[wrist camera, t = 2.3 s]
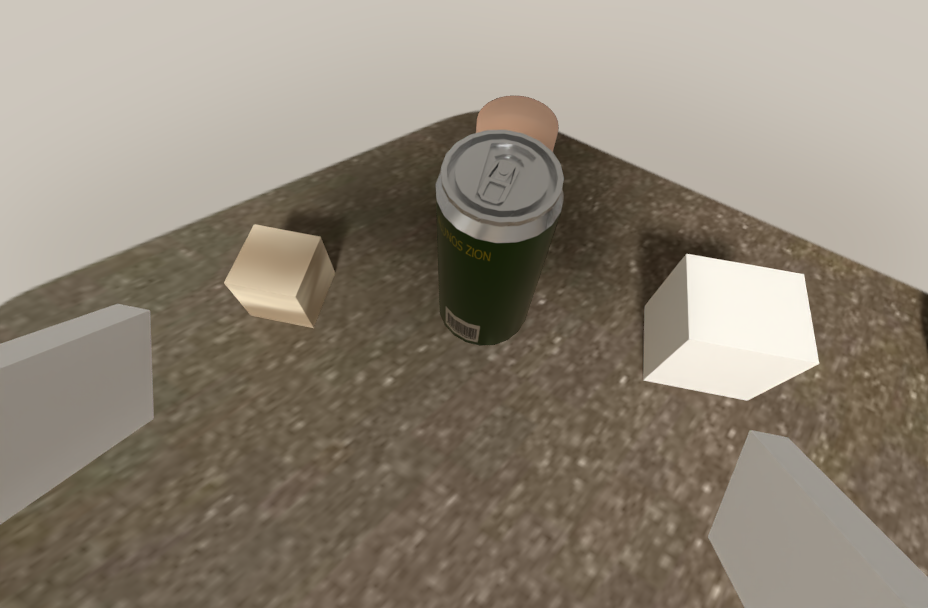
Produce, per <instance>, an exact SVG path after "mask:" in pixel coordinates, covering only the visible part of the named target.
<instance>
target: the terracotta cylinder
mask: <svg viewBox="0 0 928 608" xmlns="http://www.w3.org/2000/svg"><path fill="white" fill-rule="evenodd" d="M486 130H509V131H514V132H519V133H523V134H526V135H528V136H530V137H532V138H534V139H537V140H539V141H540V142H541V143H543V144H544V145H545V146H546V147H548V148H549V149H550V150H551V151H552V152H553V149H554V145H555V141H556V138H557V134H558V121H557V118H556V116H555V114H554V113H553V112H552V110H551V109H549V108H548V107H547V106H546V105H545V104H543V103H541V102H539V101H537V100H535V99H532V98H529V97H524V96H504V97H500V98H497V99H494V100H492V101H490V102H489V103H487V104H486V105H485V106H484V107H483V108H482V109H481V110H480V112H479V114H478V117H477V128H476V133H478V132H482V131H486Z"/></svg>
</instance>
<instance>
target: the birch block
mask: <svg viewBox="0 0 928 608" xmlns="http://www.w3.org/2000/svg"><path fill="white" fill-rule="evenodd" d="M334 275H335V271H334V269H333V266H332V264H331V261H330V259H329V256H328V254H327V251H326V249H325V246H324V244H323V241H322V239H321V237H319V236H313V235H308V234H303V233H297V232H292V231H287V230H281V229H276V228H271V227H265V226H260V225H255V224H254V226H253V228H252V230H251V231H250V233H249V235H248V237H247V239H246V241H245V243H244V245H243V247H242V249H241V251H240V253H239V255H238V257H237V259H236V261H235V263H234V265H233V267H232V268H231V270H230V272H229V274H228V276H227V278H226V280H225V282H224V283H225V285H226V286H227V287H228V288H229V289H230V291H231V292H232V293H233V294H234V296H235V297H236V298H237V299H238V300H239V302H240V303H241V304H242V305H243V306H244V308H245V309H246V310H247V311H248V313H249V314H250V315H251V316H256V317H261V318H266V319H271V320H276V321H281V322H286V323H291V324H296V325H301V326H306V327H311V328H314V326H315V324H316V321H317V318H318V316H319V313H320V311H321V308H322V306H323V303H324V300H325V298H326V295H327V293H328V290H329V288H330V285H331V282H332V280H333V277H334Z"/></svg>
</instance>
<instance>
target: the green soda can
mask: <svg viewBox="0 0 928 608" xmlns="http://www.w3.org/2000/svg"><path fill="white" fill-rule="evenodd" d="M563 180H564V177H563V172H562V168H561V164H560V162H559V161H558V159H557V158H556V156H555V155H554V153H553V152H552V151H551V150H550V149H549V148H548V147H546V146H545V145H544V144H543V143H541V142H540V141H539V140H537V139H534V138H532V137H530V136H528V135H526V134H523V133H519V132H514V131H509V130H486V131H482V132H478V133H474V134H471V135H469V136H467V137H465V138H464V139H462V140H460V141H458V142H457V143H455V145H454V146H453V147H452V148H451V149H450V150H449V151H448V152H447V154H446V155H445V158H444V161H443V164H442V166H441V172H440V174H439V177H438V180H437V183H436V210H437V243H438V275H439V304H440V314H441V317H442V319H443V321H444V324H445V326H446V327H447V328H448V329H449V330H450V331H451V332H452V333H453V334H454V335H455V336H457V337H458V338H460V339H462V340H463V341H465V342H467V343H471V344H476V345H495V344H498V343H500V342H503V341H506V340H508V339H509V338H511V337H512V336H513V335H514V334H516V333H517V332H518V331H519V329H520V328H521V326H522V324H523V323H524V321H525V319H526V316H527V313H528V310H529V307H530V304H531V301H532V298H533V295H534V292H535V289H536V286H537V283H538V280H539V277H540V274H541V271H542V268H543V265H544V262H545V259H546V256H547V253H548V250H549V247H550V244H551V241H552V238H553V235H554V232H555V229H556V226H557V223H558V220H559V217H560V214H561V210H562V205H563V199H564V193H563V189H562V186H563Z"/></svg>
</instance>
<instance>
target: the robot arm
mask: <svg viewBox="0 0 928 608" xmlns="http://www.w3.org/2000/svg"><path fill="white" fill-rule="evenodd" d="M152 419H154V413H153V383H152V353H151V323H150V310H146V309H141V308H136V307H131V306H126V305H121V304H116V305H113V306H110V307H107V308H104V309H101V310H98V311H95V312H92V313H89V314H86V315H84V316H81V317H78V318H75V319H72V320H69V321H66V322H63V323H60V324H57V325H54V326H51V327H48V328H45V329H43V330H40V331H37V332H34V333H31V334H28V335H25V336H22V337H19V338H16V339H13V340H10V341H7V342H4V343H2V344H0V524H2V523H3V522H5V521H6V520H7V519H9V518H10V517H12V516H13V515H15V514H16V513H18V512H19V511H20V510H22V509H23V508H25V507H26V506H28V505H29V504H31V503H32V502H34V501H35V500H36V499H38V498H39V497H41V496H42V495H44V494H45V493H47V492H48V491H49V490H51V489H52V488H54V487H55V486H57V485H58V484H60V483H61V482H62V481H64V480H65V479H67V478H68V477H70V476H71V475H73V474H74V473H76V472H77V471H78V470H80V469H81V468H83V467H84V466H86V465H87V464H89V463H90V462H91V461H93V460H94V459H96V458H97V457H99V456H100V455H102V454H103V453H104V452H106V451H107V450H109V449H110V448H112V447H113V446H115V445H116V444H118V443H119V442H120V441H122V440H123V439H125V438H126V437H128V436H129V435H131V434H132V433H133V432H135V431H136V430H138V429H139V428H141V427H142V426H144V425H145V424H146V423H148V422H149V421H151V420H152ZM708 538H709V540H710V542H711V544H712V545H713V547H714V549H715V551H716V553H717V555H718V557H719V559H720V561H721V563H722V565H723V567H724V569H725V571H726V573H727V575H728V576H729V578H730V580H731V582H732V584H733V586H734V588H735V590H736V592H737V594H738V596H739V598H740V600H741V602H742V604H743V605H744V607H745V608H928V577H927V576H926V575H925V574H924V573H923V572H922V571H921V570H920V569H919V568H918V567H917V566H916V565H915V564H914V563H913V562H912V561H911V560H910V559H909V558H908V557H907V556H906V555H905V554H904V553H903V552H902V551H901V550H900V549H899V548H898V547H897V546H896V545H895V544H894V543H893V542H892V541H891V540H890V539H889V538H888V537H887V536H886V535H885V534H884V533H883V532H882V531H881V530H880V529H879V528H878V527H877V526H876V525H875V524H874V523H873V522H872V521H871V520H870V519H869V518H868V517H867V516H866V515H865V514H864V513H863V512H862V511H861V510H860V509H859V508H858V507H857V506H856V505H855V504H854V503H853V502H852V501H851V500H850V499H849V498H848V497H847V496H846V495H845V494H844V493H843V492H842V491H841V490H840V489H839V488H838V487H837V486H836V485H835V484H834V483H833V482H832V481H831V480H830V479H829V478H828V477H827V476H826V475H825V474H824V473H823V472H822V471H821V470H820V469H819V468H818V467H817V466H816V465H815V464H814V463H813V462H812V461H811V460H810V459H809V458H808V457H807V456H806V455H805V454H804V453H803V452H802V451H801V450H800V449H799V448H798V447H797V446H796V445H795V444H794V443H793V442H792V441H791V440H790V439H789V438H788V437H782V436H777V435H772V434H767V433H762V432H757V431H752V430H750V431H749V434H748V436H747V439H746V441H745V444H744V446H743V449H742V452H741V454H740V457H739V459H738V462H737V464H736V467H735V469H734V472H733V474H732V477H731V479H730V482H729V485H728V487H727V490H726V492H725V495H724V497H723V500H722V502H721V505H720V507H719V510H718V512H717V515H716V518H715V520H714V523H713V525H712V528H711V530H710V533H709V535H708Z"/></svg>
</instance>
